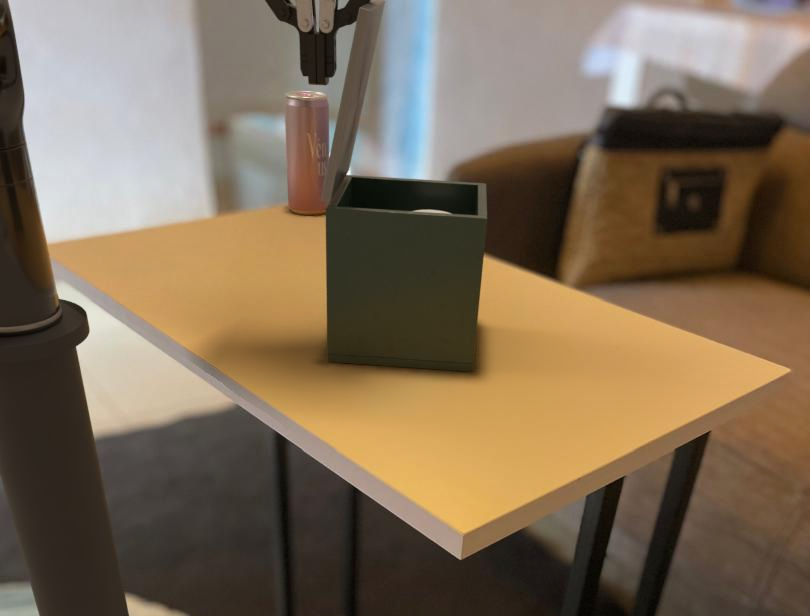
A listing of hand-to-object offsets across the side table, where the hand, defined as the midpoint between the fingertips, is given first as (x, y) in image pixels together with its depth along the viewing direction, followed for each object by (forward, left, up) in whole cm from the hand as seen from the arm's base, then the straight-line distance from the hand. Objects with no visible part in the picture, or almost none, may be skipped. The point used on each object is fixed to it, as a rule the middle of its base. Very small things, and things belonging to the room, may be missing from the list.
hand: (319, 83), depth 70 cm
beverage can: (+28, +38, -22) cm, 52 cm away
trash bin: (+6, -6, -22) cm, 24 cm away
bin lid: (+2, -2, -1) cm, 3 cm away
